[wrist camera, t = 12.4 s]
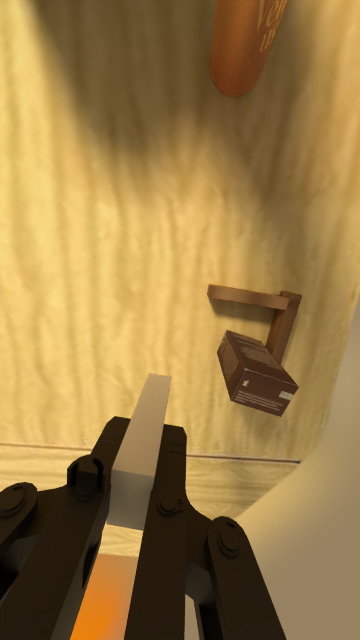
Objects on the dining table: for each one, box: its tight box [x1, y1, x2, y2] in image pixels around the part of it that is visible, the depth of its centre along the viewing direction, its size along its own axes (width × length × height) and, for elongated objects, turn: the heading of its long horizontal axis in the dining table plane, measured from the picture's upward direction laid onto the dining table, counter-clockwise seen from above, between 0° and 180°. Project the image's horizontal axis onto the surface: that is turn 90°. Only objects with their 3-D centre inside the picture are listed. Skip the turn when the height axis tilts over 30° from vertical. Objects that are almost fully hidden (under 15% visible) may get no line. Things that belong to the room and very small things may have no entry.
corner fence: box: [207, 284, 302, 364], centre depth 31 cm, size 12×14×3 cm
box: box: [217, 330, 299, 417], centre depth 27 cm, size 6×4×12 cm
